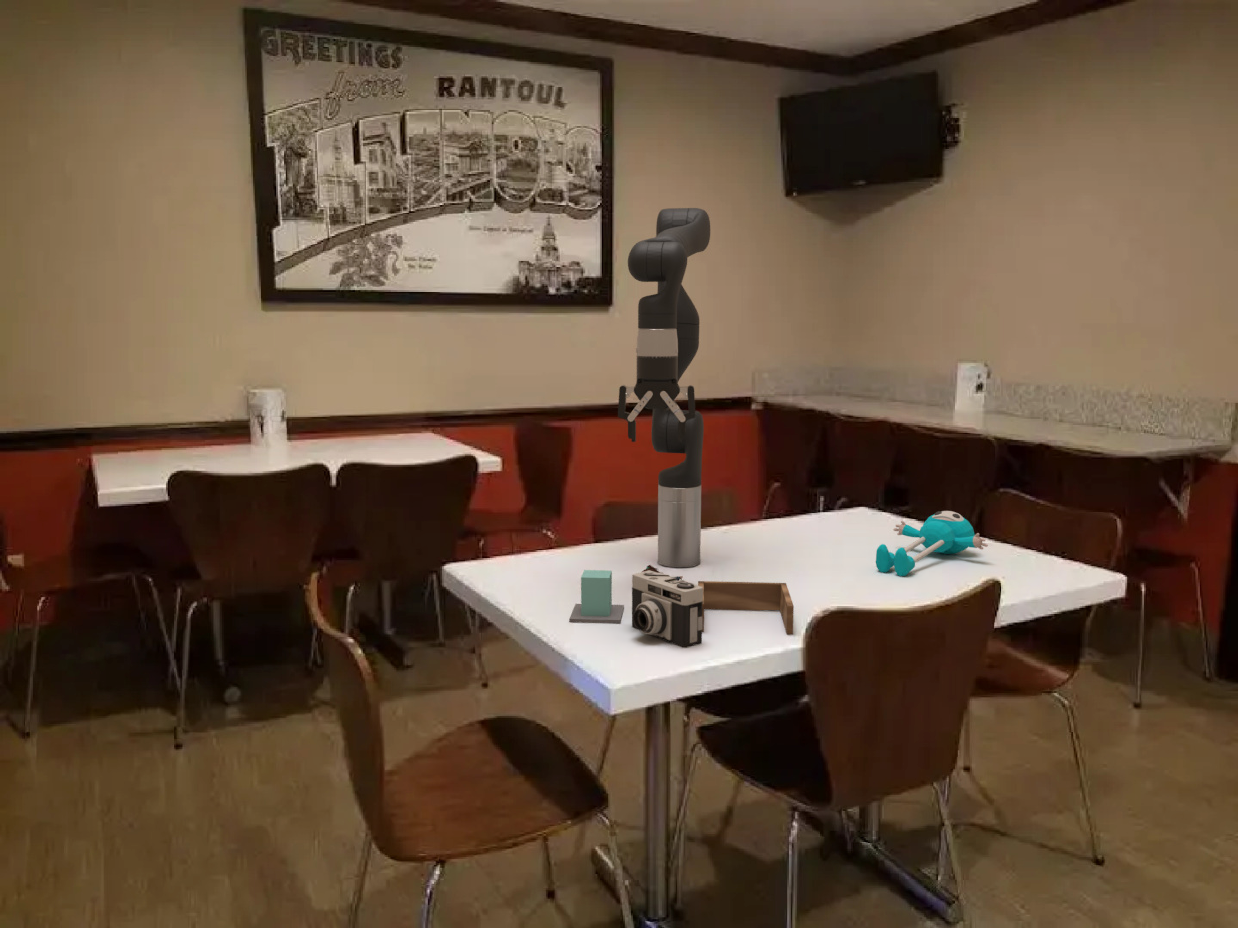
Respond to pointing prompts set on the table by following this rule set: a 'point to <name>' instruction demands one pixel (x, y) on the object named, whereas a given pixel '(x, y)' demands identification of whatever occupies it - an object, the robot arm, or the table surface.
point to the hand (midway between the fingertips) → (656, 441)
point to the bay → (748, 598)
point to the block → (596, 593)
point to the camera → (667, 608)
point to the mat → (613, 618)
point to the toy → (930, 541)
